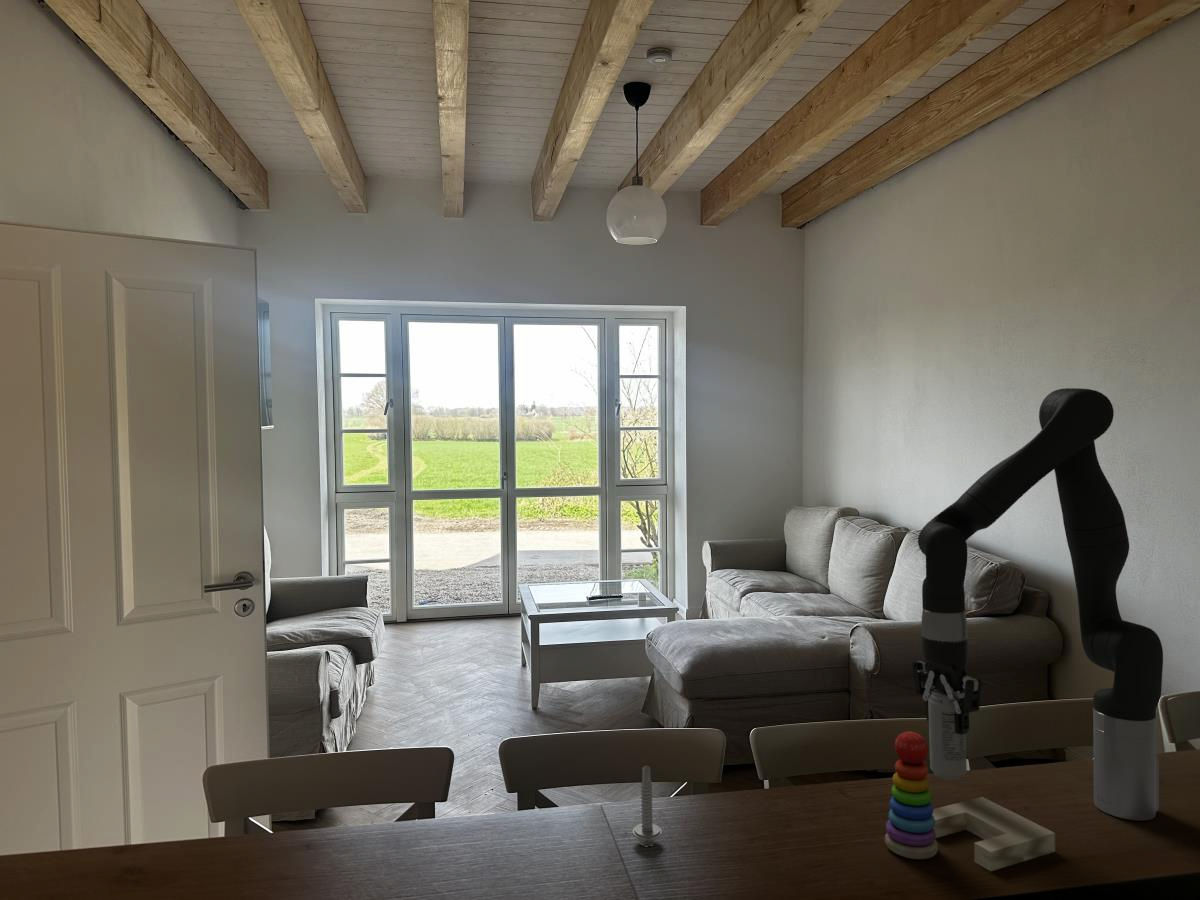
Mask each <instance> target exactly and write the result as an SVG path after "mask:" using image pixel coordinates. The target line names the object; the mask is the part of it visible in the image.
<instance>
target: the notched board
mask: <svg viewBox="0 0 1200 900" xmlns="http://www.w3.org/2000/svg"><path fill="white" fill-rule="evenodd" d="M932 815H933V816H934V819H935V825H934V827H933V828H934V830H935V833H936V837H935V839H937V838H941V837H944V836H948V835H951V834H952V835H953V834H956V833H959V832H962V831H966V830H967V831H968V832H970V833H972V834H973V835H976V836H977V837H978V838H980V839H982V840H979V841H976V842H974V847H973V848H974V849H973V851H974V853H973V854H974V858H973V859H974V861H973V862H974V863H976V864H977V865H979V866H981V867H982V868H984V869H985V870H987V871H989V872H993V871H997V870H1000V869H1003V868H1007V867H1009V866H1013V865H1016V864H1020V863H1022V862H1027V861H1030V860H1033V859H1036V858H1039V857H1042V856H1045V855H1049V854H1052V853H1055V852H1056V833H1055V832H1054V831H1052V830H1050V829H1048V828H1046V827H1044V826H1042V825H1039V824H1038V823H1035V822H1033V821H1032V820H1030V819H1027V818H1026V817H1024V816H1022V815H1019V814H1017V813H1015V812H1014V811H1011V810H1010V809H1007V808H1005V807H1004V806H1001V805H999V804H997V803H995V802H993V801H991V800H990V799H987V798H985V797H983V796H979V797H976V798H971V799H969V800H965V801H959V802H957V803H952V804H949V805H944V806H941V807H936V808H933V814H932Z"/></svg>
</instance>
